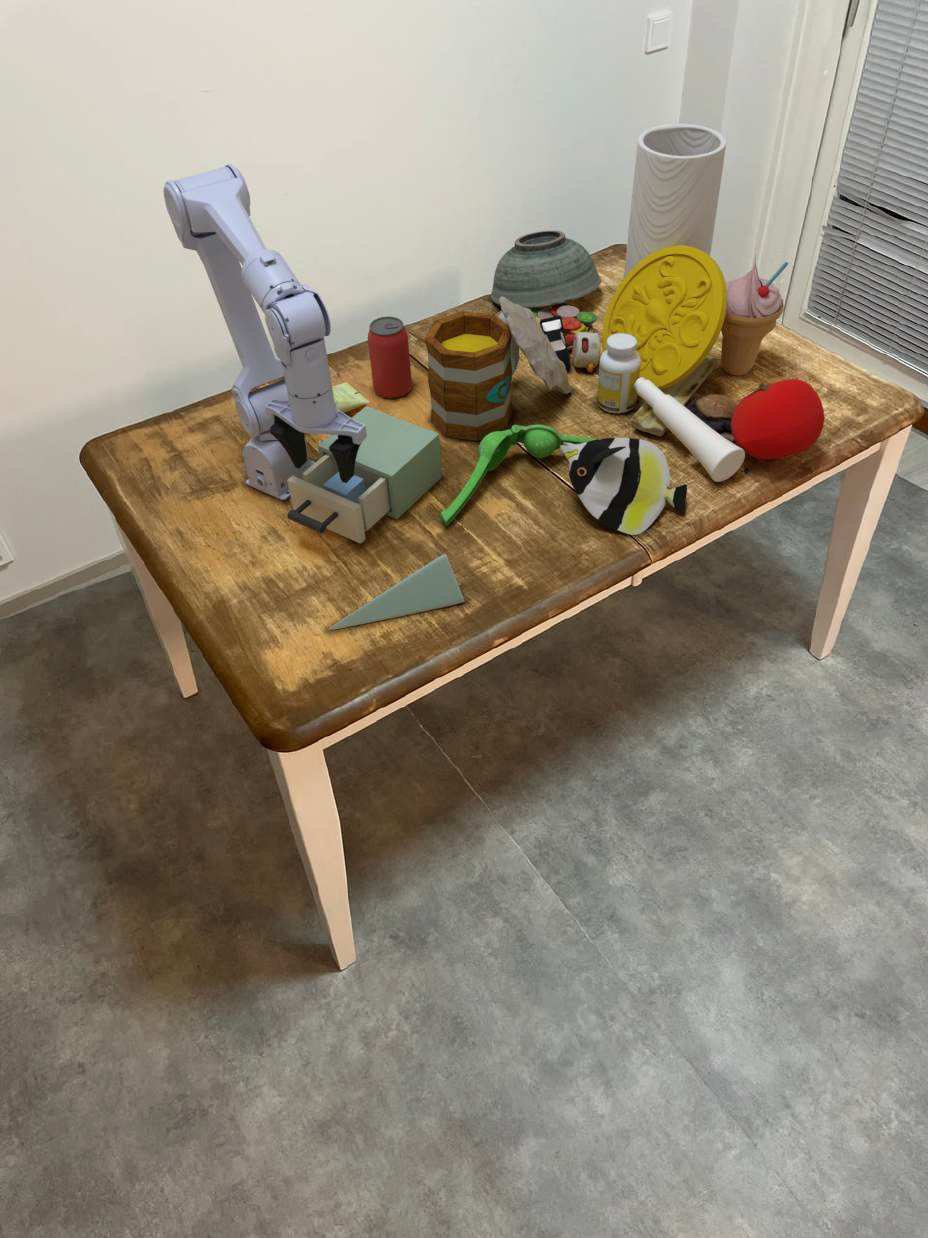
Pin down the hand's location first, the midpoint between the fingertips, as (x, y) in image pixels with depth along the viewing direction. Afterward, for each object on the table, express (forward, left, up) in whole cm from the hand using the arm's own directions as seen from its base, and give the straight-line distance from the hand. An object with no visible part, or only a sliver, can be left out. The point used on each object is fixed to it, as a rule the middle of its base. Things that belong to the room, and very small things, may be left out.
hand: (324, 471), depth 133 cm
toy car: (+55, -5, -9) cm, 56 cm away
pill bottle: (+49, -20, -11) cm, 54 cm away
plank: (+54, -26, -10) cm, 61 cm away
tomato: (+48, -50, -9) cm, 69 cm away
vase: (+75, -15, -10) cm, 78 cm away
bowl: (+74, +10, +1) cm, 74 cm away
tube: (+9, +23, -8) cm, 26 cm away
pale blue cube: (+3, 0, -8) cm, 9 cm away
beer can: (+33, +14, -11) cm, 37 cm away
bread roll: (+53, -36, -10) cm, 65 cm away
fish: (+33, -30, -3) cm, 45 cm away
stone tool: (+48, -12, -11) cm, 51 cm away
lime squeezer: (+26, -18, -10) cm, 33 cm away
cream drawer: (+2, 0, -10) cm, 10 cm away
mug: (+36, -2, -10) cm, 38 cm away
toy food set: (+62, -1, -10) cm, 63 cm away
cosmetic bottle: (+39, -44, -7) cm, 59 cm away
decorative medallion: (+60, -22, -1) cm, 64 cm away
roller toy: (+56, -10, -11) cm, 58 cm away
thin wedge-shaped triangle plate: (-9, -18, -11) cm, 23 cm away
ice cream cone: (+68, -33, -10) cm, 76 cm away
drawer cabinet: (+12, 0, -10) cm, 16 cm away
